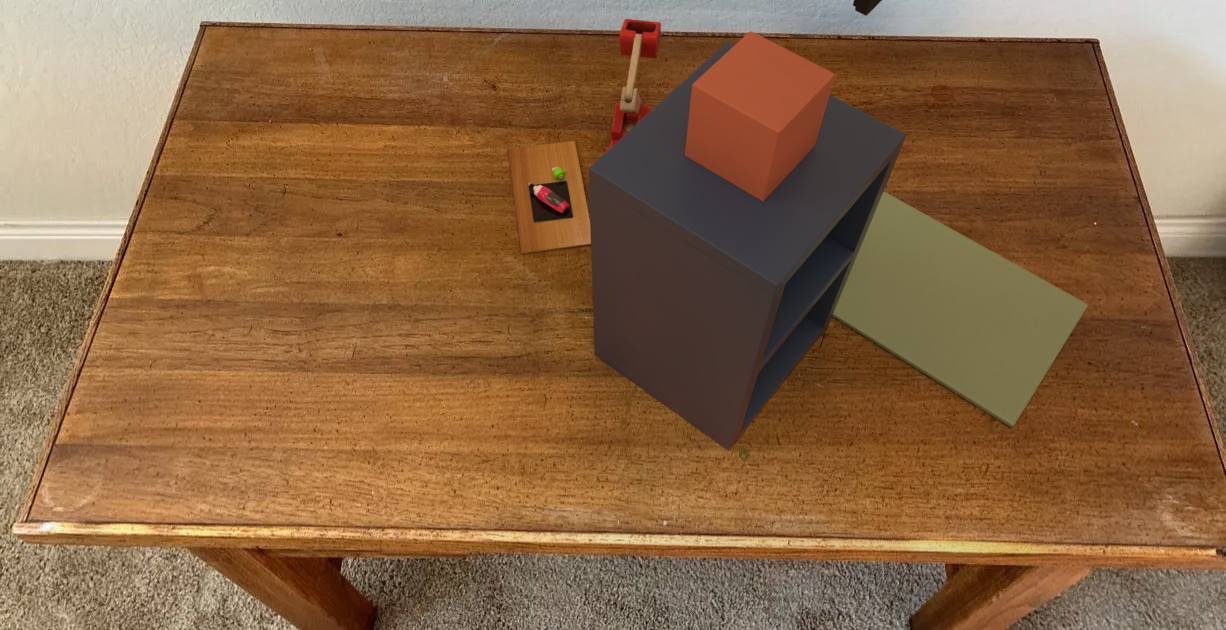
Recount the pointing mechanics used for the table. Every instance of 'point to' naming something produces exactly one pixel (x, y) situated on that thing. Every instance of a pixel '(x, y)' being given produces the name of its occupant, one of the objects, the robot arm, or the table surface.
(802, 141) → the toy block
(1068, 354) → the table surface
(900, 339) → the play mat
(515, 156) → the board
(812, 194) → the shelf
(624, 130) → the toy fire truck
